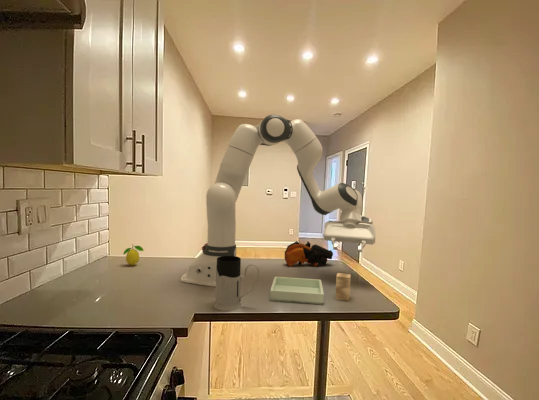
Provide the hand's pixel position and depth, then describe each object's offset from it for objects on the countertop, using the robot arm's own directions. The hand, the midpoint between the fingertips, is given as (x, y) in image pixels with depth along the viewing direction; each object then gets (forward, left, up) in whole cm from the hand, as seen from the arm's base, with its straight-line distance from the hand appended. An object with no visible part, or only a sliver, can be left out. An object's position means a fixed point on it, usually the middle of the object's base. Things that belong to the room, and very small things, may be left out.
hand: (347, 250), depth 116 cm
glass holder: (-38, -26, -15) cm, 48 cm away
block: (-3, -12, -14) cm, 19 cm away
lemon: (-94, +10, -15) cm, 95 cm away
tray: (-19, -12, -14) cm, 27 cm away
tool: (-14, +29, -15) cm, 36 cm away
